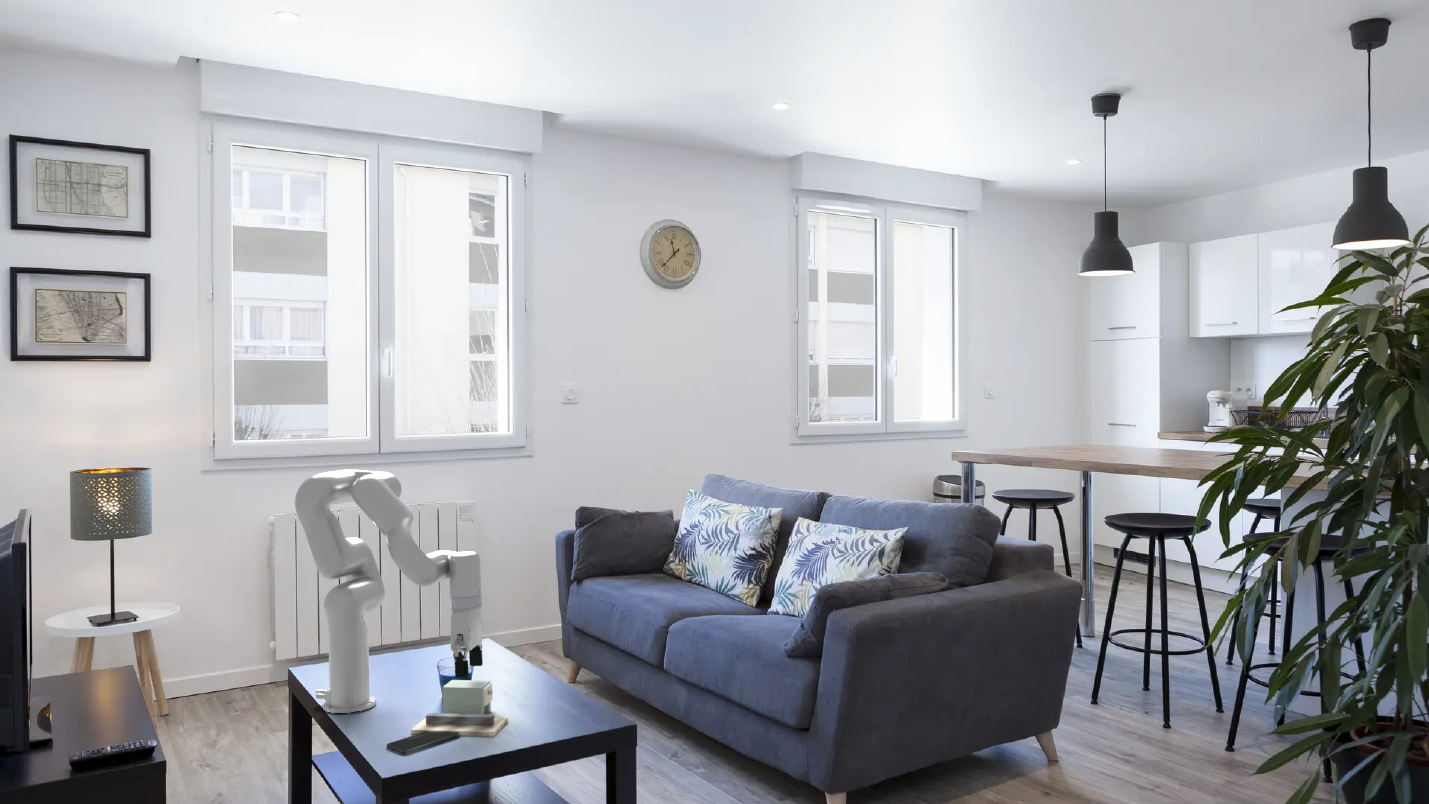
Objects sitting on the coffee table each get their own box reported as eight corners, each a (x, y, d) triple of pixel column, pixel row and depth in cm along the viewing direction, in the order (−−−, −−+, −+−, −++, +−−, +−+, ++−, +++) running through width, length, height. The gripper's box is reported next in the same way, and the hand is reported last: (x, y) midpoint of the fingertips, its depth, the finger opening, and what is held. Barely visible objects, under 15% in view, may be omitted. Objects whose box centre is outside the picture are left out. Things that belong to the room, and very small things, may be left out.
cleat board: (410, 734, 233) (410, 721, 233) (428, 719, 243) (427, 707, 243) (493, 736, 231) (493, 723, 231) (507, 721, 241) (507, 709, 241)
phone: (461, 733, 231) (403, 752, 219) (461, 738, 231) (403, 757, 219) (441, 726, 236) (384, 744, 224) (441, 731, 236) (384, 749, 224)
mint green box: (443, 717, 245) (442, 687, 244) (452, 709, 250) (451, 679, 250) (488, 718, 243) (487, 688, 243) (496, 710, 249) (495, 680, 249)
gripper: (464, 595, 255) (467, 661, 256) (437, 610, 238) (441, 681, 238) (492, 594, 255) (495, 661, 255) (468, 609, 237) (471, 681, 238)
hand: (469, 671), depth 247 cm, fingers open, 9 cm apart
